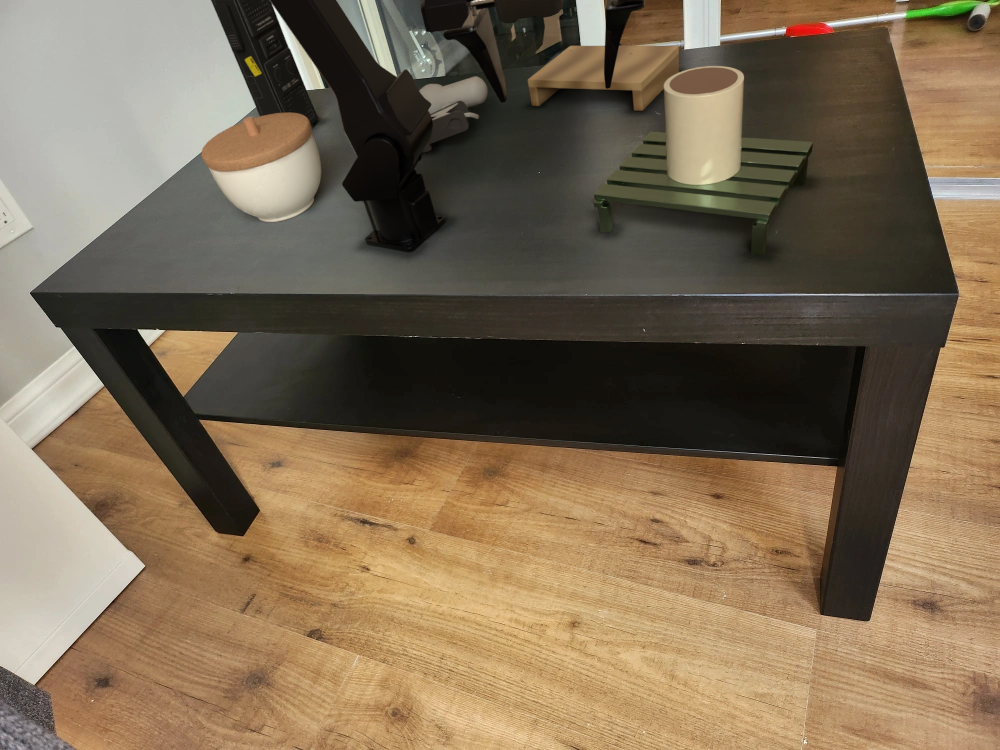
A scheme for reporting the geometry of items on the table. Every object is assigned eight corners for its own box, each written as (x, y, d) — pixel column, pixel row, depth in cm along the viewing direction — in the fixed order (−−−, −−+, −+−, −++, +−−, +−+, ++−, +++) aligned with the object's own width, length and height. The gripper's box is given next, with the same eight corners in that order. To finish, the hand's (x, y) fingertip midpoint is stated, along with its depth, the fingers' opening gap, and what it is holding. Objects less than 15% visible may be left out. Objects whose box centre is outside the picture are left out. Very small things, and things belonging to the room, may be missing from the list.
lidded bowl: (348, 206, 83) (314, 114, 76) (244, 247, 80) (199, 156, 73) (321, 171, 92) (289, 87, 85) (227, 207, 89) (186, 122, 82)
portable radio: (295, 144, 101) (216, -53, 85) (261, 145, 103) (178, -46, 87) (322, 120, 106) (253, -70, 90) (290, 122, 108) (217, -63, 92)
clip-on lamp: (361, 174, 96) (471, 143, 87) (335, 133, 92) (447, 96, 83) (396, 128, 103) (501, 95, 94) (372, 88, 99) (480, 49, 90)
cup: (662, 158, 68) (658, 73, 63) (732, 146, 67) (734, 59, 62) (672, 190, 63) (669, 101, 58) (748, 178, 62) (752, 87, 57)
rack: (595, 233, 68) (591, 196, 65) (653, 165, 76) (652, 129, 73) (765, 258, 60) (767, 216, 57) (810, 179, 68) (814, 139, 65)
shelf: (531, 105, 95) (527, 79, 93) (573, 70, 102) (570, 45, 99) (642, 111, 87) (640, 82, 85) (679, 72, 94) (678, 45, 91)
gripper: (376, -70, 48) (433, 147, 58) (657, -128, 43) (666, 119, 54) (415, -101, 56) (459, 94, 66) (656, -153, 51) (664, 66, 62)
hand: (555, 94), depth 62 cm, fingers open, 9 cm apart
